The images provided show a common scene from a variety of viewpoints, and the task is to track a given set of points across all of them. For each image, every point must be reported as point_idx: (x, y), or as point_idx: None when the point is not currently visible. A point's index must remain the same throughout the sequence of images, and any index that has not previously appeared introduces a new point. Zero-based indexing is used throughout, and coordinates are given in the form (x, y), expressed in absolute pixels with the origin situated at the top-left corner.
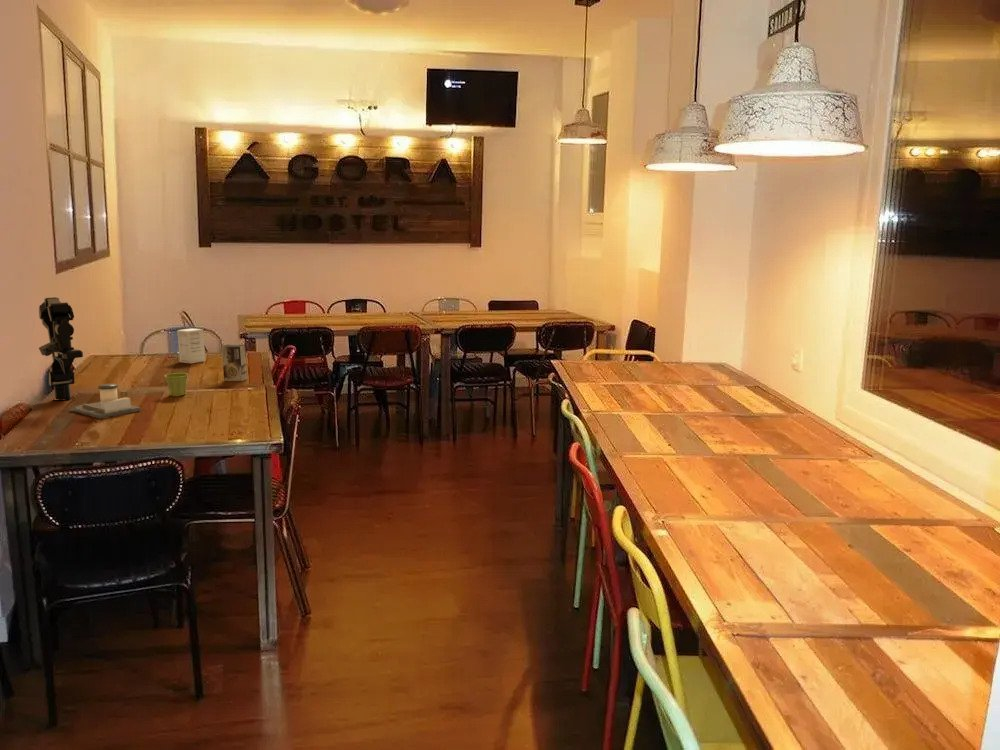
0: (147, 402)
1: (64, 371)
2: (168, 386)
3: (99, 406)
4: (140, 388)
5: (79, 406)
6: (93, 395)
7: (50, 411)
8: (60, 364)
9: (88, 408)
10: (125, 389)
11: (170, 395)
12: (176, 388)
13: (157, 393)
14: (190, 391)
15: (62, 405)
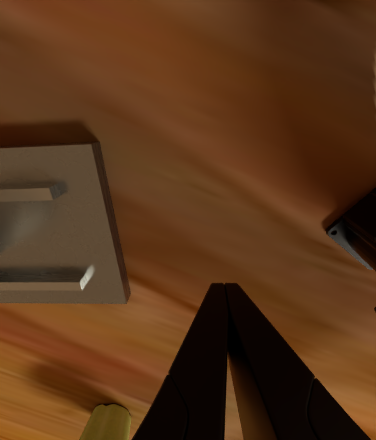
0: (70, 350)
1: (210, 301)
2: (104, 436)
3: (25, 231)
4: None
5: (77, 178)
6: (318, 316)
7: (158, 58)
8: (325, 410)
9: (4, 185)
10: None
11: (115, 405)
12: (82, 434)
13: None
14: None
15: (250, 166)
